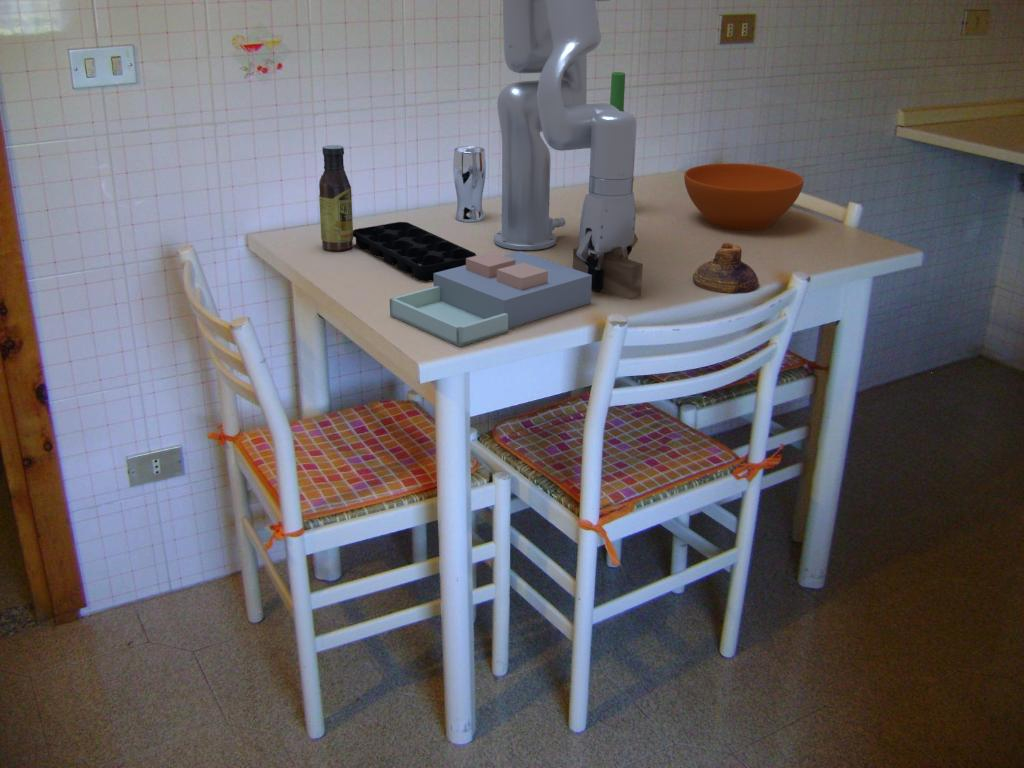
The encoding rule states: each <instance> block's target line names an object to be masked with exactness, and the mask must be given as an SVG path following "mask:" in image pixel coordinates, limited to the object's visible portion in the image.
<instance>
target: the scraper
mask: <svg viewBox="0 0 1024 768" xmlns="http://www.w3.org/2000/svg"><path fill="white" fill-rule="evenodd" d="M578 248H579V246H578V247H575V248H573V249H572V269H575V270H578V271H581V272H584V273H587V274H588V267H586V265H585V263H584V262H583V260H582V259H581V258H579V257H578V256H577V255H576V252H577V250H578ZM596 258H597V255H594V259H595V260H596ZM643 268H644V267H643V263H641V262H638V261H635V260H632V259H629V258H628V259H626V258H623V257H622V247H618V248H614V249H612V251H610V252H607V253H605V254H604V258H603V262H602V266H601V269H602V270H603V271H604V273H603V290H602V292H607V293H609V294H613V295H616V296H617V297H621V298H624V299H627V300H632V299H635V298H639V297H641V295H642V294H641V293H642V284H643V283H642V281H643V277H642V276H643Z"/></svg>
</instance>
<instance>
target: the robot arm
mask: <svg viewBox="0 0 1024 768" xmlns="http://www.w3.org/2000/svg"><path fill="white" fill-rule="evenodd" d="M609 1H610V0H502V25H503V27H502V28H503V29H502V30H503V53H504V54H503V55H504V60H505V64H506V66H507V68H508V69H509V70H510V71H512V72H513V73H516V74H517V73H518V74H540V76H539V79H538V80H537V79H535V80H522V81H517V82H513V83H510V84H508V85H506V86H505V87H504V88H502V90H500V93H499V95H498V97H497V103H496V104H497V115H498V120H499V125H500V134H501V154H502V155H501V156H502V157H501V158H502V159H501V166H502V167H501V171H502V172H501V230H500V231H497V232H496V233H495V234H493V243H494V244H496V245H497V246H498V247H501V248H505V249H507V250H515V251H536V250H544V249H548V248H550V247H553V246H554V245H556V243H557V236H556V234H554V233H553V231H554V230H555V229H556V228H557V229H558V228H562V227H565V225H566V219H565V217H563V216H560V217H557V218H554V219H553V218H552V217H550V191H551V190H550V187H551V152H550V149H549V148H548V146H549V147H550V148H551V149H553V150H557V151H561V152H563V151H573V150H582V149H583V150H584V149H585V150H586V149H590V151H589V152H590V154H589V155H590V156H589V157H590V159H589V177H588V178H589V179H588V181H589V183H588V193H587V194H585V197H584V200H583V204H582V209H581V215H580V222H579V232H578V247H579V248H578V247H577V248H578V250H577V252H576V255H577V256H578V257H579V258H581V259H582V260H583V262H584V263H585V265H586V267H588V274H590V275H592V284H591V290H593V291H596V292H603V273H604V271H603V270H602V269H601V266H602V262H603V258H604V254H605V253H607V252H610V251H612V249H614V248H618V247H622V257H623V258H626V259H629V256H630V255H631V252H632V251H633V248H634V247H635V246H636V244H637V242H638V240H639V238H638V236H637V235H636V204H635V203H636V201H635V195H634V192H633V190H634V189H633V188H634V181H635V177H634V171H635V169H634V168H635V157H636V156H635V154H636V141H637V140H636V139H637V137H636V135H637V120H636V117H635V116H634V114H632V113H631V112H626V111H624V112H623V111H619V110H618V109H617V108H616V107H614V106H613V105H610V103H601V102H600V103H599V102H598V103H587V89H588V88H587V84H588V83H587V81H588V79H587V78H588V77H587V76H588V75H587V67H588V65H587V62H588V61H587V60H588V59H587V56H588V55H587V54H589V53H591V52H592V51H594V50H595V49H596V48H598V47H599V45H600V44H601V42H602V37H601V36H602V35H601V29H600V24H599V17H598V11H597V10H598V9H597V5H596V2H609ZM540 133H542V134H543V137H544V140H545V141H544V140H543V138H542V136H541V134H540ZM545 142H546V143H547V144H548V146H547V144H546V143H545ZM594 255H597V258H596V260H595V259H594Z"/></svg>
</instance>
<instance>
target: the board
mask: <svg viewBox="0 0 1024 768" xmlns="http://www.w3.org/2000/svg"><path fill="white" fill-rule="evenodd" d="M502 255H503V254H502ZM503 256H506V257H509V258H512V259H515V265H516V264H520V263H526V264H529V265H532V266H535V267H538V268H541V269H544V270H546V271H548V283H544V284H541V285H537V286H534V287H530V288H527V289H523V290H519V289H517V288H514V287H511V286H509V285H506V284H503V283H501V282H498V281H497V276H495V277H491V278H487V277H484V276H482V275H479V274H476V273H474V272H471V271H468V270H466V265H464V266H460V267H456V268H452V269H448V270H444V271H440V272H436V273H434V280H433V287H435V286H439V287H440V301H442V302H444V303H447V304H449V305H451V306H454V307H456V308H459V309H461V310H463V311H466V312H468V313H471V314H473V315H476V316H478V317H480V318H483V319H487V318H490V317H493V316H497V315H500V314H503V313H507V314H508V330H510V329H511V328H515V327H518V326H521V325H524V324H527V323H531V322H534V321H537V320H540V319H543V318H546V317H549V316H553V315H557V314H559V313H562V312H567V311H570V310H573V309H576V308H578V307H581V306H585V305H588V304H591V303H592V302H591V301H592V289H591V284H592V275H590V274H587V273H584V272H581V271H578V270H575V269H573V267H569V266H566V265H564V264H563V265H562V264H560V263H557V262H554V261H551V260H548V259H545V258H542V257H539V256H536V255H533V254H529V253H527V252H524V251H523V250H518V251H516V252H511V253H509V254H504V255H503Z"/></svg>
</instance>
